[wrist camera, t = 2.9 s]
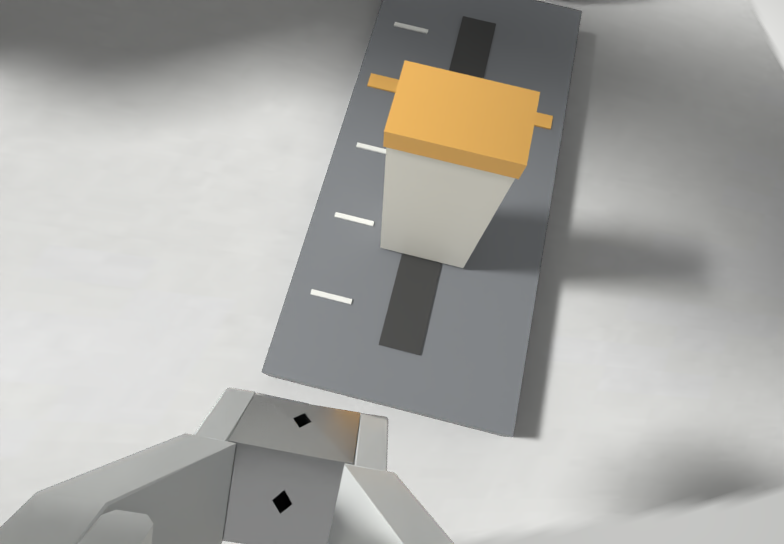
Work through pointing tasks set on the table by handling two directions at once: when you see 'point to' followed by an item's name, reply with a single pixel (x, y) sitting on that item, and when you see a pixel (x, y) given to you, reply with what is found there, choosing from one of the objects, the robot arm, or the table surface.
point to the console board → (418, 275)
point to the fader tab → (450, 159)
